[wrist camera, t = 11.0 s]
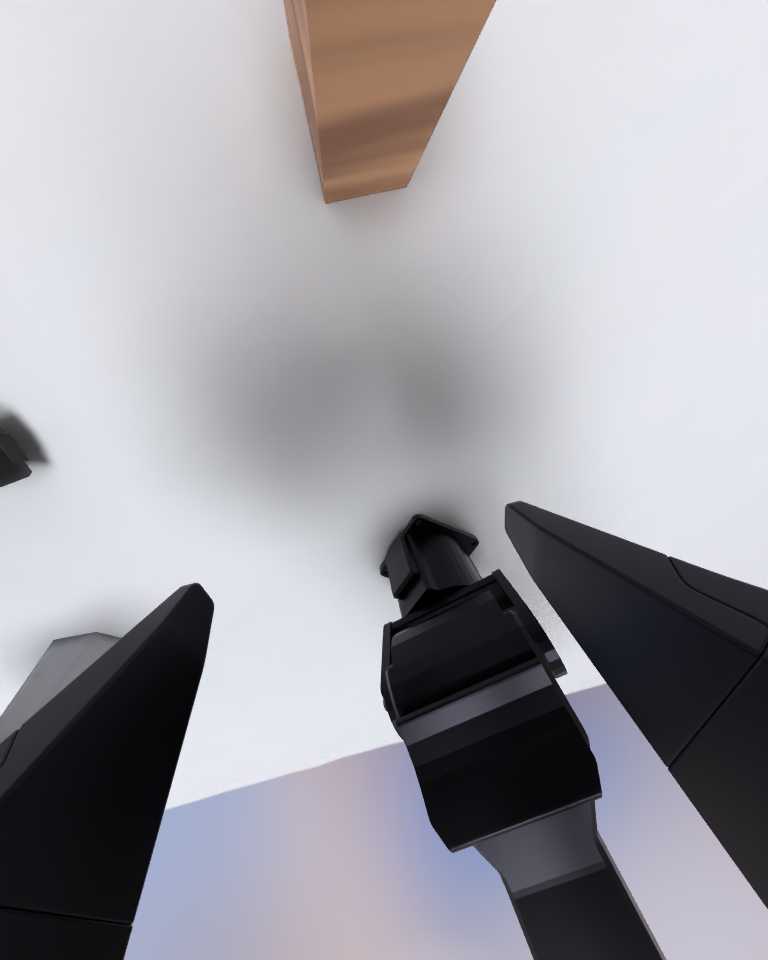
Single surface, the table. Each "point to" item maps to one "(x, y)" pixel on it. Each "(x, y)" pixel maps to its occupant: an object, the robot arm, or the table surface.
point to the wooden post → (377, 82)
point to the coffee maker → (53, 676)
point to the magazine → (11, 461)
